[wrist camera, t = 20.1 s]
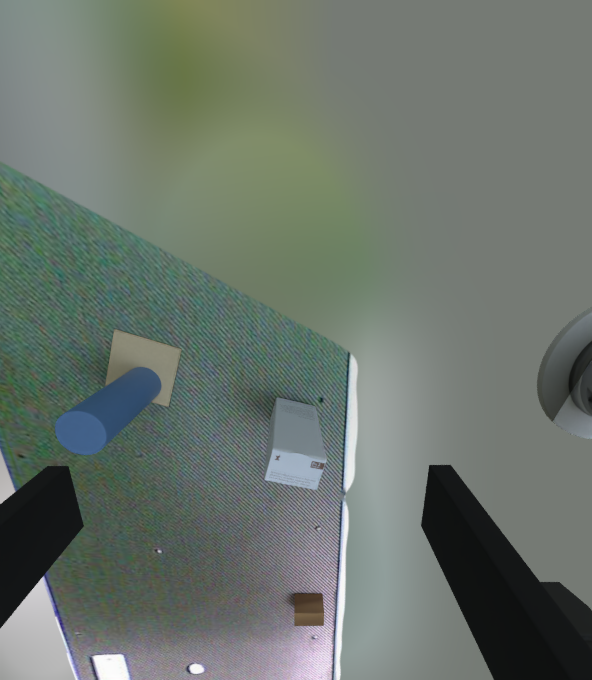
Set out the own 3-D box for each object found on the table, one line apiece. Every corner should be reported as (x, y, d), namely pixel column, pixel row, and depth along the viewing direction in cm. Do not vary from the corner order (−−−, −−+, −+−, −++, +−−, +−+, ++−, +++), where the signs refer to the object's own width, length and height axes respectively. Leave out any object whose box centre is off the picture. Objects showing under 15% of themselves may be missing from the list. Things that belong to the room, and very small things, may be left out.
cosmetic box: (269, 421, 41) (259, 483, 30) (276, 394, 40) (269, 447, 29) (310, 430, 42) (316, 495, 30) (318, 403, 41) (327, 460, 29)
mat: (182, 348, 38) (180, 349, 38) (169, 405, 41) (167, 407, 40) (115, 329, 38) (114, 329, 37) (106, 387, 40) (104, 389, 40)
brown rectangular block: (294, 593, 51) (294, 613, 48) (322, 593, 51) (324, 613, 48) (294, 605, 51) (294, 626, 48) (322, 605, 51) (323, 625, 48)
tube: (43, 429, 28) (83, 463, 29) (77, 401, 27) (116, 437, 28) (118, 380, 39) (144, 406, 40) (143, 359, 38) (169, 386, 39)
